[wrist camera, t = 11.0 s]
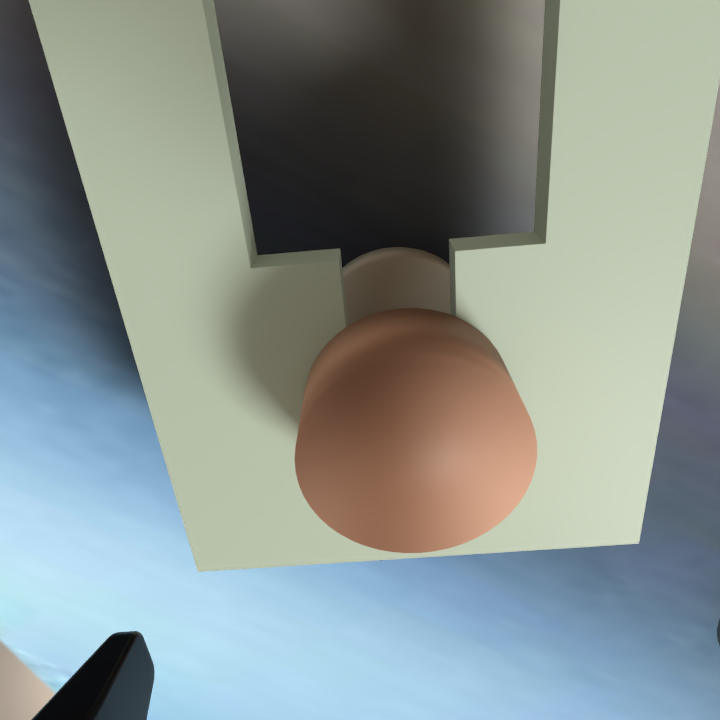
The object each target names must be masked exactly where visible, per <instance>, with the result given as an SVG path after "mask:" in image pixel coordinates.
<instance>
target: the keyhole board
mask: <svg viewBox="0 0 720 720" xmlns="http://www.w3.org/2000/svg"><path fill="white" fill-rule="evenodd" d="M29 3H30V7H31V10H32V13H33V17H34V20H35V23H36V27H37V30H38V34H39V37H40V40H41V44H42V47H43V50H44V54H45V57H46V61H47V64H48V67H49V71H50V74H51V77H52V81H53V84H54V88H55V91H56V94H57V98H58V101H59V105H60V108H61V111H62V115H63V118H64V121H65V125H66V128H67V132H68V135H69V138H70V142H71V145H72V148H73V152H74V155H75V159H76V162H77V165H78V169H79V172H80V175H81V179H82V182H83V186H84V189H85V192H86V196H87V199H88V202H89V206H90V209H91V213H92V216H93V219H94V223H95V226H96V229H97V233H98V236H99V240H100V243H101V246H102V250H103V253H104V256H105V260H106V263H107V267H108V270H109V273H110V277H111V280H112V283H113V287H114V290H115V294H116V297H117V300H118V304H119V307H120V310H121V314H122V317H123V321H124V324H125V327H126V331H127V334H128V338H129V341H130V344H131V348H132V351H133V354H134V358H135V361H136V365H137V368H138V371H139V375H140V378H141V381H142V385H143V388H144V392H145V395H146V398H147V402H148V405H149V408H150V412H151V415H152V419H153V422H154V425H155V429H156V432H157V435H158V439H159V442H160V446H161V449H162V452H163V456H164V459H165V462H166V466H167V469H168V473H169V476H170V479H171V483H172V486H173V489H174V493H175V496H176V500H177V503H178V506H179V510H180V513H181V516H182V520H183V523H184V527H185V530H186V533H187V537H188V540H189V544H190V547H191V550H192V554H193V557H194V560H195V564H196V567H197V571H198V572H202V571H218V570H233V569H249V568H264V567H280V566H296V565H311V564H327V563H342V562H358V561H374V560H389V559H405V558H420V557H436V556H451V555H467V554H483V553H498V552H514V551H529V550H545V549H561V548H576V547H592V546H607V545H623V544H638V543H639V539H640V534H641V528H642V522H643V516H644V511H645V505H646V499H647V494H648V488H649V482H650V476H651V471H652V465H653V459H654V454H655V448H656V442H657V436H658V431H659V425H660V419H661V413H662V408H663V402H664V396H665V391H666V385H667V379H668V373H669V368H670V362H671V356H672V351H673V345H674V339H675V333H676V328H677V322H678V316H679V311H680V305H681V299H682V293H683V288H684V282H685V276H686V271H687V265H688V259H689V253H690V248H691V242H692V236H693V231H694V225H695V219H696V213H697V208H698V202H699V196H700V190H701V185H702V179H703V173H704V168H705V162H706V156H707V150H708V145H709V139H710V133H711V128H712V122H713V116H714V110H715V105H716V99H717V93H718V88H719V82H720V0H545V15H544V35H543V56H542V76H541V96H540V117H539V137H538V158H537V178H536V199H535V219H534V232H524V233H513V234H501V235H489V236H478V237H466V238H454V239H449V265H450V315H452V316H455V317H458V318H460V319H461V320H463V321H465V322H467V323H469V324H471V325H472V326H473V327H475V328H476V329H478V330H479V331H480V332H481V333H482V334H484V335H485V336H486V337H487V338H488V339H489V340H490V341H491V343H492V344H493V345H494V347H495V348H496V349H497V350H498V352H499V354H500V356H501V358H502V359H503V361H504V363H505V365H506V368H507V370H508V372H509V374H510V376H511V378H512V380H513V382H514V384H515V386H516V389H517V391H518V393H519V395H520V397H521V399H522V401H523V403H524V405H525V407H526V409H527V412H528V414H529V416H530V418H531V421H532V424H533V426H534V429H535V434H536V440H537V461H536V468H535V471H534V475H533V478H532V481H531V483H530V485H529V487H528V489H527V491H526V493H525V495H524V496H523V498H522V499H521V501H520V502H519V504H518V505H517V506H516V507H515V508H514V510H513V511H512V512H511V513H510V514H509V515H508V516H507V517H506V518H505V519H504V520H503V521H501V522H500V523H499V524H498V525H496V526H495V527H494V528H492V529H491V530H489V531H488V532H486V533H484V534H483V535H481V536H479V537H477V538H475V539H473V540H471V541H468V542H466V543H464V544H461V545H458V546H455V547H451V548H448V549H443V550H439V551H433V552H424V553H397V552H389V551H383V550H378V549H374V548H371V547H367V546H364V545H361V544H359V543H357V542H354V541H352V540H350V539H348V538H346V537H344V536H342V535H341V534H339V533H337V532H336V531H335V530H333V529H332V528H330V527H329V526H328V525H327V524H326V523H324V522H323V521H322V520H321V519H320V518H319V517H318V516H317V515H316V513H315V512H314V511H313V510H312V509H311V507H310V506H309V504H308V503H307V501H306V499H305V498H304V496H303V494H302V491H301V489H300V487H299V484H298V480H297V476H296V471H295V460H294V459H295V446H296V440H297V434H298V428H299V422H300V416H301V410H302V404H303V398H304V392H305V387H306V382H307V378H308V375H309V372H310V370H311V367H312V365H313V363H314V361H315V360H316V358H317V356H318V354H319V353H320V352H321V350H322V349H323V348H324V347H325V345H326V344H327V343H328V342H329V341H330V340H331V339H332V338H333V337H334V336H335V335H336V334H338V333H339V332H340V331H342V330H343V329H344V328H346V327H347V326H348V318H347V309H346V299H345V290H344V280H343V271H342V261H341V252H340V248H338V249H326V250H314V251H303V252H291V253H279V254H268V255H257V250H256V244H255V238H254V232H253V227H252V221H251V215H250V209H249V203H248V198H247V192H246V186H245V180H244V174H243V169H242V163H241V157H240V151H239V145H238V140H237V134H236V128H235V122H234V117H233V111H232V105H231V99H230V93H229V88H228V82H227V76H226V70H225V64H224V59H223V53H222V47H221V41H220V35H219V30H218V24H217V18H216V12H215V7H214V1H213V0H29Z"/></svg>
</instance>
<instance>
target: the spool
mask: <svg viewBox="0 0 720 720" xmlns="http://www.w3.org/2000/svg"><path fill="white" fill-rule="evenodd" d="M342 271H343V280H344V290H345V299H346V309H347V318H348V326H347V327H346V328H344V329H343V330H342V331H340V332H339V333H338V334H336V335H335V336H334V337H333V338H332V339H331V340H330V341H329V342H328V343H327V344H326V345H325V347H324V348H323V349H322V350H321V352H320V353H319V354H318V356H317V358H316V360H315V361H314V363H313V365H312V367H311V370H310V372H309V375H308V378H307V382H306V387H305V392H304V398H303V404H302V410H301V416H300V422H299V428H298V434H297V440H296V446H295V459H294V460H295V471H296V476H297V480H298V484H299V487H300V489H301V491H302V494H303V496H304V498H305V499H306V501H307V503H308V504H309V506H310V507H311V509H312V510H313V511H314V512H315V513H316V515H317V516H318V517H319V518H320V519H321V520H322V521H323V522H324V523H326V524H327V525H328V526H329V527H330V528H332V529H333V530H335V531H336V532H337V533H339V534H341V535H342V536H344V537H346V538H348V539H350V540H352V541H354V542H357V543H359V544H361V545H364V546H367V547H371V548H374V549H378V550H383V551H389V552H397V553H424V552H433V551H439V550H443V549H448V548H451V547H455V546H458V545H461V544H464V543H466V542H468V541H471V540H473V539H475V538H477V537H479V536H481V535H483V534H484V533H486V532H488V531H489V530H491V529H492V528H494V527H495V526H496V525H498V524H499V523H500V522H501V521H503V520H504V519H505V518H506V517H507V516H508V515H509V514H510V513H511V512H512V511H513V510H514V508H515V507H516V506H517V505H518V504H519V502H520V501H521V499H522V498H523V496H524V495H525V493H526V491H527V489H528V487H529V485H530V483H531V481H532V478H533V475H534V471H535V468H536V461H537V440H536V434H535V429H534V426H533V424H532V421H531V418H530V416H529V414H528V412H527V409H526V407H525V405H524V403H523V401H522V399H521V397H520V395H519V393H518V391H517V389H516V386H515V384H514V382H513V380H512V378H511V376H510V374H509V372H508V370H507V368H506V365H505V363H504V361H503V359H502V358H501V356H500V354H499V352H498V350H497V349H496V348H495V347H494V345H493V344H492V343H491V341H490V340H489V339H488V338H487V337H486V336H485V335H484V334H482V333H481V332H480V331H479V330H478V329H476V328H475V327H473V326H472V325H471V324H469V323H467V322H465V321H463V320H461V319H460V318H458V317H455V316H452V315H450V265H449V264H448V263H447V262H446V261H444V260H443V259H441V258H439V257H438V256H436V255H434V254H431V253H429V252H426V251H424V250H419V249H415V248H409V247H388V248H382V249H377V250H374V251H370V252H368V253H366V254H363V255H361V256H359V257H357V258H355V259H354V260H352V261H350V262H349V263H348V264H347V265H345V266H344V267H343V268H342Z"/></svg>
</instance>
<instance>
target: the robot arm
mask: <svg viewBox="0 0 720 720" xmlns="http://www.w3.org/2000/svg"><path fill="white" fill-rule="evenodd" d="M717 638H718V642H719V646H720V620H719V623H718V627H717ZM153 682H154V665H153V661H152V659H151V656H150V653H149V651H148V648H147V646H146V643H145V640H144V638H143V636H142V634H141V633H139V632H138V631H131V632H118V633H114V634H113V635H111V636H110V637H109V638H108V639H107V640H106V641H105V642H104V643H103V644H102V645H101V646H100V647H99V648H98V649H97V650H96V651H95V652H94V653H93V655H92V656H91V657H90V658H89V659H88V660H87V661H86V662H85V663H84V664H83V665H82V666H81V667H80V668H79V670H78V671H77V672H76V673H75V674H74V675H73V676H72V677H71V678H70V679H69V680H68V681H67V682H66V683H65V684H64V686H63V687H62V688H61V689H60V690H59V691H58V692H57V693H56V694H55V695H54V696H53V697H52V698H51V699H50V700H49V702H48V703H47V704H46V705H45V706H44V707H43V708H42V709H41V710H40V711H39V712H38V713H37V714H36V715H35V717H34V718H33V719H32V720H146V719H147V714H148V709H149V703H150V698H151V693H152V688H153Z"/></svg>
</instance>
